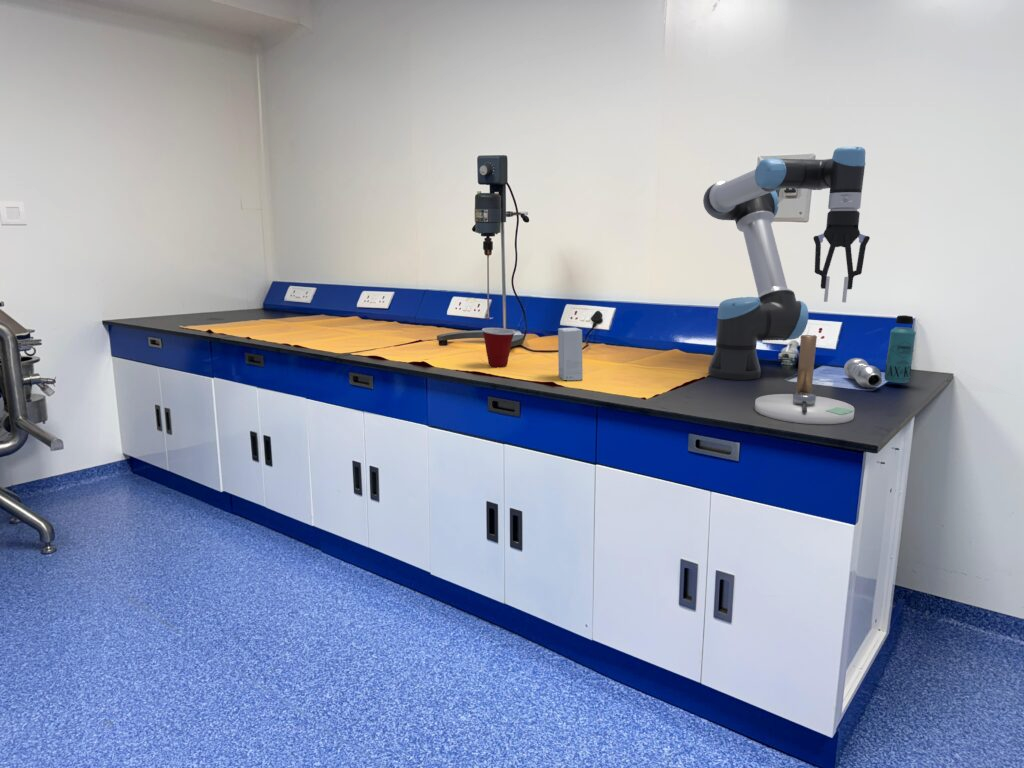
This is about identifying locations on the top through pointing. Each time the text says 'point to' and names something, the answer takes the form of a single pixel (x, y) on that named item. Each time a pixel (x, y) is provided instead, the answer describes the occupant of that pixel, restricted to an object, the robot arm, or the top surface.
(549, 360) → the top surface
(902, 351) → the beverage bottle
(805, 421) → the round white plate
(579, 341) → the skincare box
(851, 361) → the silver metal bottle
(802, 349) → the crank handle
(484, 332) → the plastic cup
